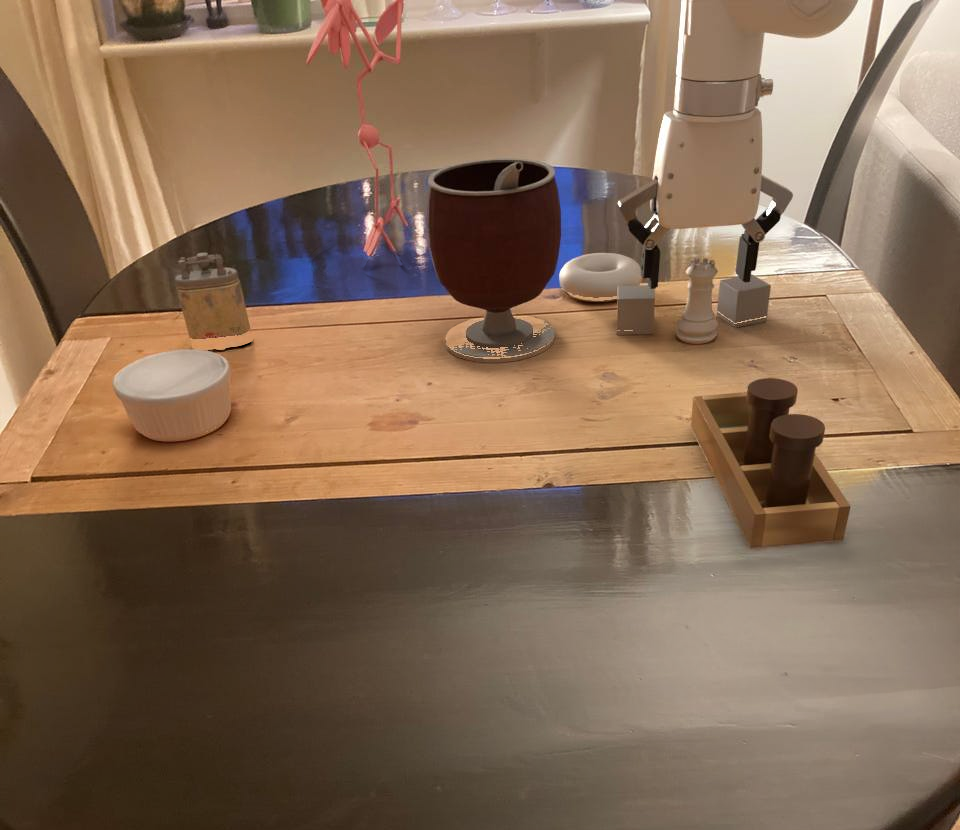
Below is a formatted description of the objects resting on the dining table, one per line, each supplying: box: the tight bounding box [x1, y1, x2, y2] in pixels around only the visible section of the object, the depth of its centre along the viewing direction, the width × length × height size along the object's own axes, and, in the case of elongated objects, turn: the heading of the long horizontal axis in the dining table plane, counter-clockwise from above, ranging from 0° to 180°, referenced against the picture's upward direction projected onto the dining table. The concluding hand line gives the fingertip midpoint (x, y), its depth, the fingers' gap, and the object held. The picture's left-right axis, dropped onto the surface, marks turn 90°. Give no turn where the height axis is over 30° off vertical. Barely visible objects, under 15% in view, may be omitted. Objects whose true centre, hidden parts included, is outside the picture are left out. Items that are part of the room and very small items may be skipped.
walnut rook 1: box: [739, 377, 799, 466], centre depth 77 cm, size 4×4×8 cm
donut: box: [558, 252, 643, 303], centre depth 115 cm, size 10×4×10 cm
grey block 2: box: [716, 273, 772, 329], centre depth 106 cm, size 4×4×4 cm
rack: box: [690, 391, 851, 549], centre depth 79 cm, size 7×20×4 cm, turn 3°
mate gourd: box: [425, 157, 562, 364], centre depth 99 cm, size 16×14×20 cm
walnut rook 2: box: [761, 413, 826, 508], centre depth 72 cm, size 4×4×8 cm
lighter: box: [174, 252, 251, 339], centre depth 107 cm, size 7×4×10 cm, turn 99°
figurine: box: [305, 0, 409, 257], centre depth 121 cm, size 15×26×35 cm, turn 170°
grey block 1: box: [616, 284, 656, 336], centre depth 105 cm, size 4×4×4 cm
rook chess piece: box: [675, 257, 719, 345], centre depth 101 cm, size 4×4×8 cm
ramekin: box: [112, 348, 232, 443], centre depth 94 cm, size 11×11×5 cm
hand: (696, 281), depth 100 cm, fingers open, 9 cm apart
